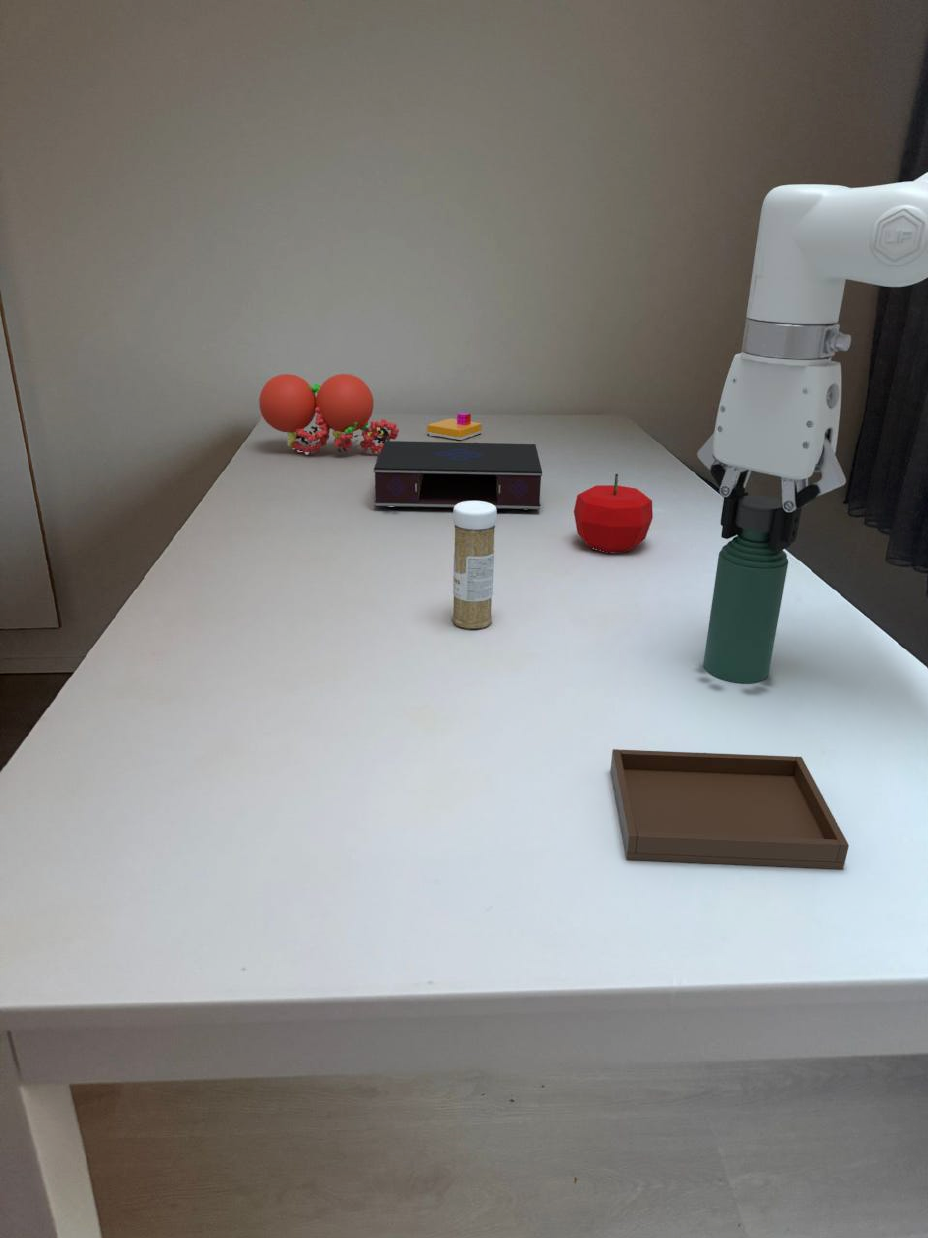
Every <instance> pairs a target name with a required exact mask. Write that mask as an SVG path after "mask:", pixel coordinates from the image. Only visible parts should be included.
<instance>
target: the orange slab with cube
mask: <svg viewBox="0 0 928 1238" xmlns="http://www.w3.org/2000/svg"><path fill="white" fill-rule="evenodd" d="M471 416H472V414H471V413H469V412H459V413H457V414H456V418H451V417H449V418H445V419H442V420H439V421H435V422H431V423H429V424H427V427H426V428H427V429H426V431H427V432H432V433H437V434H442V435H447V436H453V437H459V438H461V437H463V436H466V435H469V434H473V433H475V432H478V431H481V430H483V428H482V425H483V424H482V423H481V422H477V421H471V420H472V419H471V418H472V417H471ZM427 432H426V433H427Z"/></svg>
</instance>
